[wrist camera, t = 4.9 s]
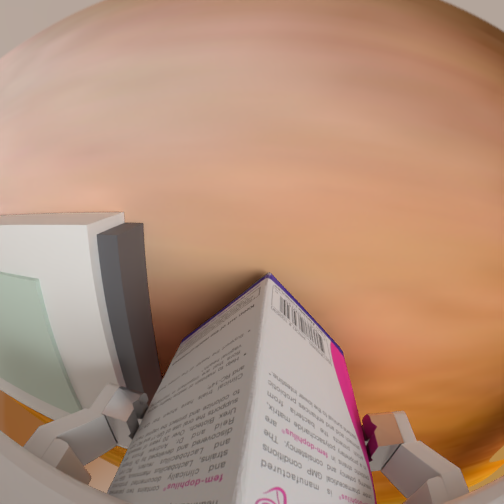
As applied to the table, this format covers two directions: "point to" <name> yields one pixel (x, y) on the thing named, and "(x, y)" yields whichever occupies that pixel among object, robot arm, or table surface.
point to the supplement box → (251, 414)
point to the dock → (74, 310)
